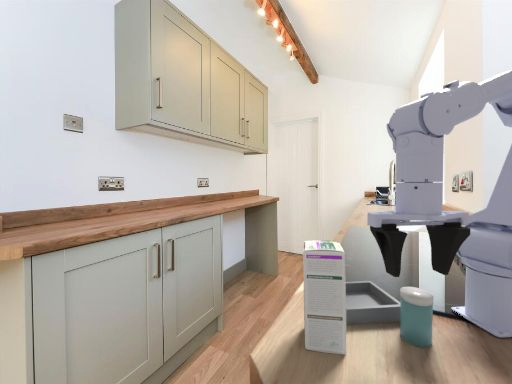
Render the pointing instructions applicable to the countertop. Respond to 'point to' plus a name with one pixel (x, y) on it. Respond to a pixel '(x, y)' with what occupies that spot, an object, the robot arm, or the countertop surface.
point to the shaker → (416, 316)
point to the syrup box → (324, 296)
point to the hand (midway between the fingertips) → (416, 273)
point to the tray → (369, 304)
